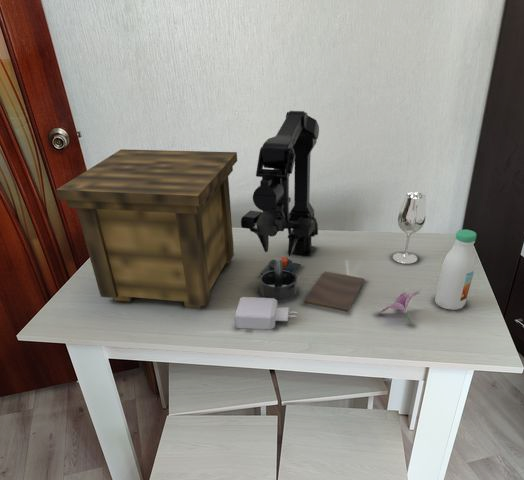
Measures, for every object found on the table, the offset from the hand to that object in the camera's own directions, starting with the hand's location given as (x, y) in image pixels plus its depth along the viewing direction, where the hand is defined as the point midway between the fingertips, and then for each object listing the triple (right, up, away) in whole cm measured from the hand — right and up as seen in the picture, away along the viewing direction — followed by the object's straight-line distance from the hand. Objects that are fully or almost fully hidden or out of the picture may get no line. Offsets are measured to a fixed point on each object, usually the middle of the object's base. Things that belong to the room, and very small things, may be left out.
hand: (278, 253), depth 126 cm
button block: (+1, -2, +17) cm, 17 cm away
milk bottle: (+46, -13, 0) cm, 48 cm away
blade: (0, -9, +7) cm, 11 cm away
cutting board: (+16, -10, +6) cm, 20 cm away
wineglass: (+41, +3, +21) cm, 46 cm away
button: (+1, 0, +15) cm, 15 cm away
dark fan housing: (0, -10, +7) cm, 12 cm away
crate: (-31, -5, +14) cm, 35 cm away
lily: (+31, -18, -5) cm, 36 cm away
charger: (-3, -19, -4) cm, 19 cm away
